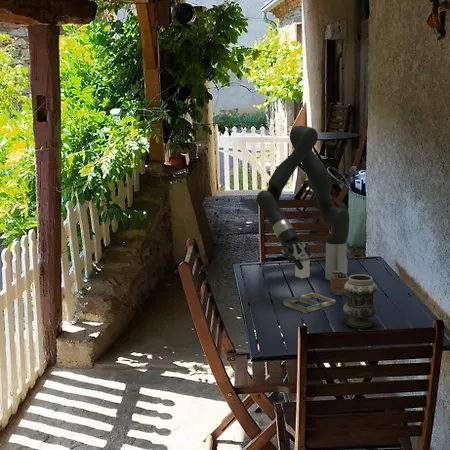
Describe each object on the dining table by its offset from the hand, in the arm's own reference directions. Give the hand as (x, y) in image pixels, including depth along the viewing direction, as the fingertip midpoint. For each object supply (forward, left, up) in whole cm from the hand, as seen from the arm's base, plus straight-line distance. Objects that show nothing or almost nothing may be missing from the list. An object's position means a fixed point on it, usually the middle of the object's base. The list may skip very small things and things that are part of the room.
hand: (306, 267), depth 249 cm
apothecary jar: (-3, +25, -17) cm, 30 cm away
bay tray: (-4, -2, -17) cm, 17 cm away
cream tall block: (0, -2, -4) cm, 5 cm away
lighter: (-23, -3, -17) cm, 29 cm away
